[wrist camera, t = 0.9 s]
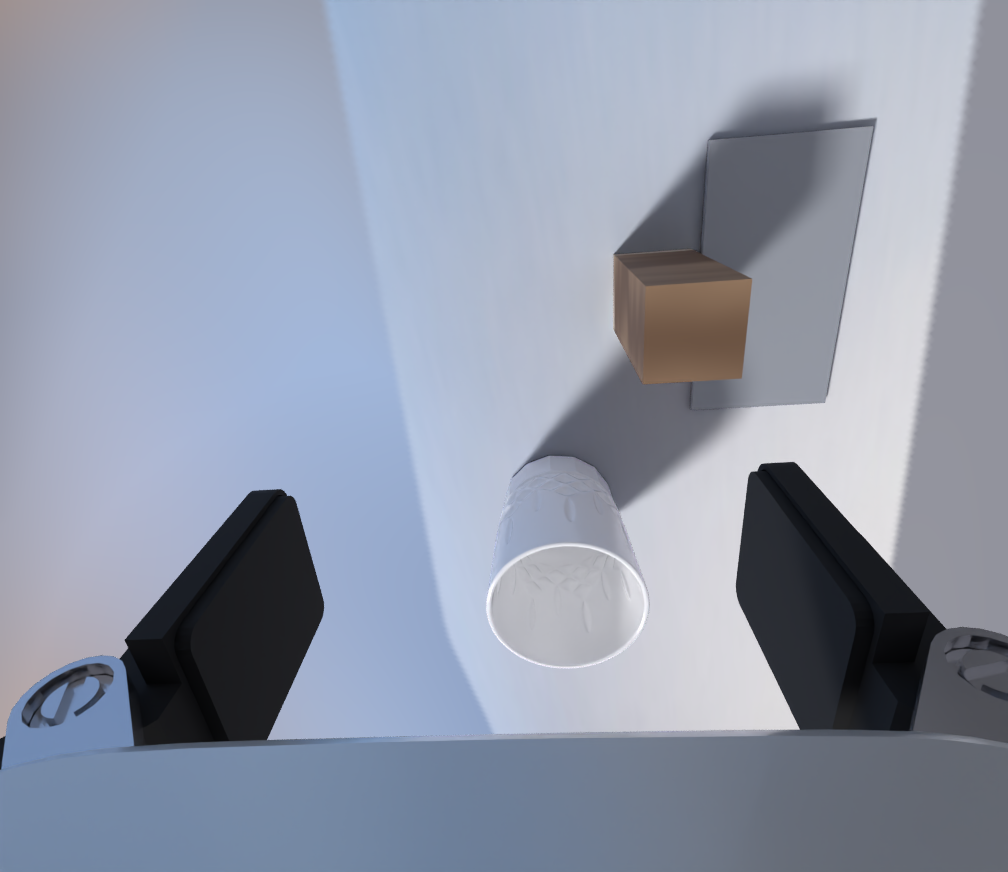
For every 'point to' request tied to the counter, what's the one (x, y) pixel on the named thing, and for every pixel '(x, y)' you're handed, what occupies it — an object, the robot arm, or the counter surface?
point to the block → (680, 315)
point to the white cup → (564, 569)
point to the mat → (784, 255)
